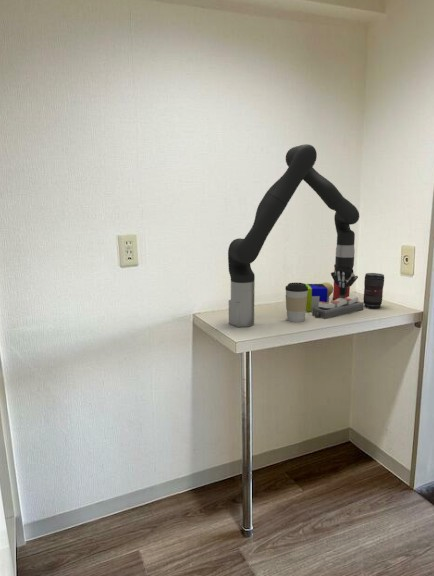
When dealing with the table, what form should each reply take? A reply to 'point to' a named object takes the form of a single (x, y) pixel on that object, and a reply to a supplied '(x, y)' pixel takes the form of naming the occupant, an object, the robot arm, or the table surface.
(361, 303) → the power strip
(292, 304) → the coffee cup
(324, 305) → the rocker
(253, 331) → the table surface
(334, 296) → the speaker
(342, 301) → the rocker
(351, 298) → the rocker
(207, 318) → the table surface
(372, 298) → the camera lens
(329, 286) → the beige rounded piece
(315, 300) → the puzzle toy
